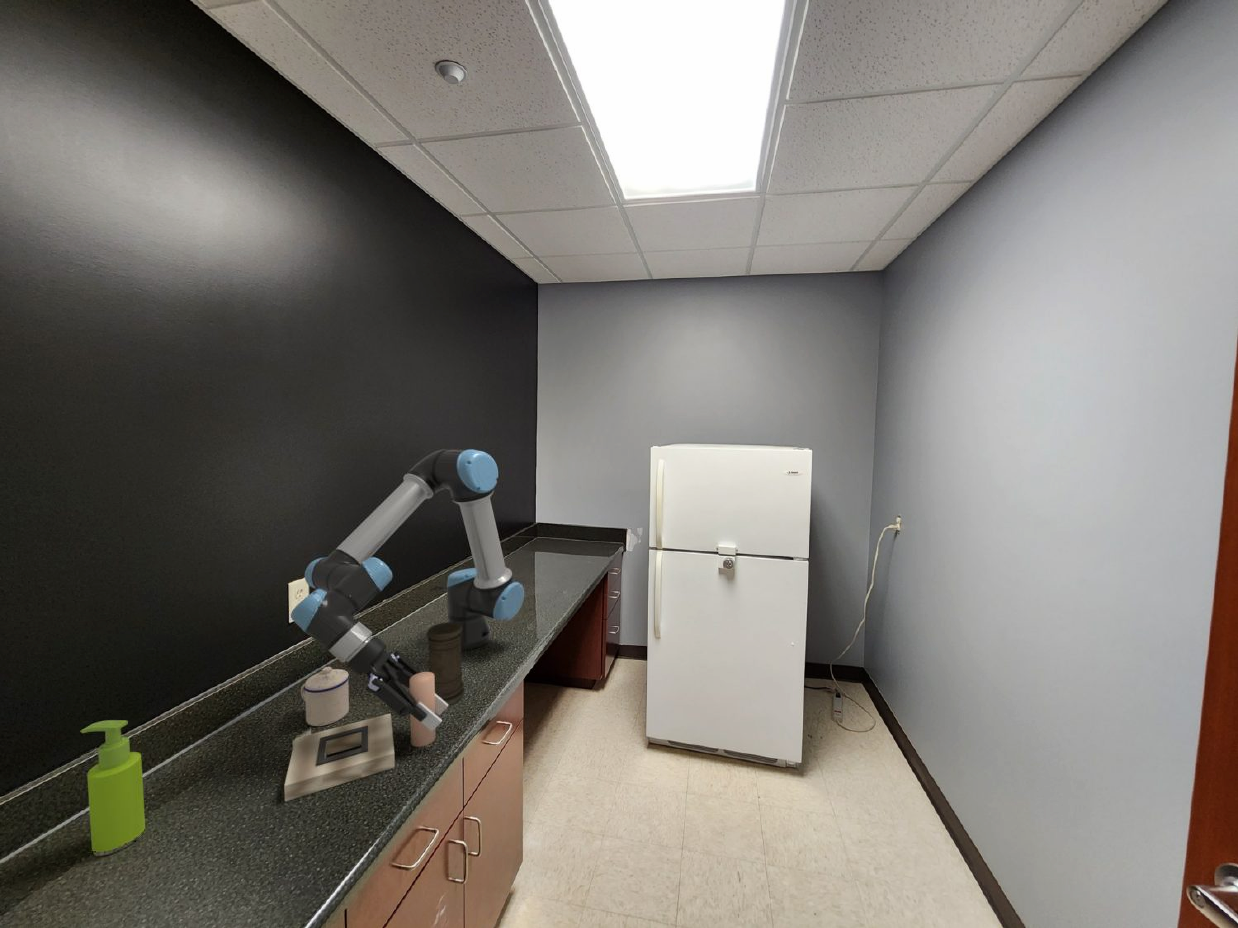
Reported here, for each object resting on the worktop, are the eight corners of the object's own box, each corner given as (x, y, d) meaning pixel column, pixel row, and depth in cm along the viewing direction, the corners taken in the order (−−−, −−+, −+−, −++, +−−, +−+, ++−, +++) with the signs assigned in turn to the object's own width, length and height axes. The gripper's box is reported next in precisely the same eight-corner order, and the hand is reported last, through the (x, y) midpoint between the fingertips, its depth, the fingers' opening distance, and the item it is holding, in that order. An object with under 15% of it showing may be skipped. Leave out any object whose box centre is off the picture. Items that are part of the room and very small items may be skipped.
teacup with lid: (359, 707, 112) (357, 661, 111) (327, 730, 103) (325, 680, 102) (319, 700, 114) (318, 655, 114) (285, 722, 106) (283, 673, 105)
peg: (433, 729, 104) (432, 669, 103) (436, 742, 99) (435, 680, 98) (409, 736, 101) (408, 675, 100) (411, 749, 97) (410, 686, 96)
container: (452, 708, 111) (451, 637, 110) (419, 704, 113) (418, 634, 112) (471, 689, 120) (470, 622, 119) (440, 685, 122) (439, 619, 121)
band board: (390, 725, 105) (390, 711, 104) (394, 767, 92) (394, 751, 91) (295, 751, 96) (295, 736, 96) (284, 801, 83) (284, 783, 83)
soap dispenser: (111, 826, 77) (104, 713, 76) (155, 823, 78) (149, 711, 77) (73, 858, 71) (65, 736, 70) (120, 855, 72) (113, 734, 71)
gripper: (364, 642, 106) (439, 705, 109) (325, 684, 88) (415, 758, 91) (388, 619, 106) (461, 683, 109) (353, 656, 89) (442, 731, 92)
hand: (440, 717), depth 100 cm, fingers closed on peg, 5 cm apart
